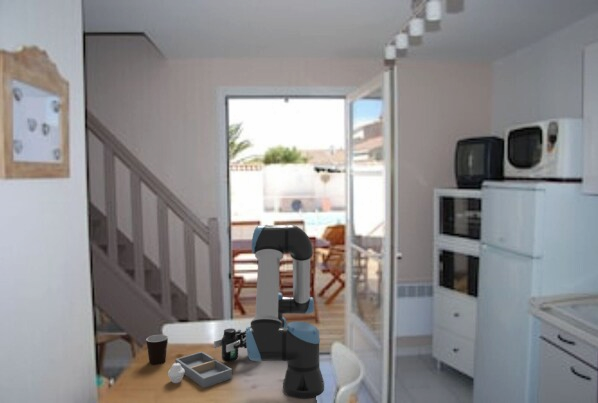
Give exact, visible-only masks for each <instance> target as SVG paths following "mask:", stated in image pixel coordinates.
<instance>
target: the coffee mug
mask: <svg viewBox="0 0 598 403" xmlns="http://www.w3.org/2000/svg"><path fill="white" fill-rule="evenodd" d="M168 339H169V337H168V335H167V334H153V335H150V336H148V337H147V338H146V339H145V340H146V348H147V355H148V361H149V364H150V365H152V366H158V365H162V364H164V363H165V362H166V360H167V349H168V343H169V342H168V341H169V340H168Z"/></svg>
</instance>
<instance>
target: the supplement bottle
mask: <svg viewBox="0 0 598 403" xmlns="http://www.w3.org/2000/svg"><path fill="white" fill-rule="evenodd" d="M236 331H237V329H235V328H225V329H224V330H223V335H224V337H223V336H222V346H221V360H222V361H224V362H227V363H229V362H231V363H232V362H235V361H237V360H238V359H239V348H237V349H235V350H232V351H230V352H226V345H228V344H231V343H234V342H236V341H239V340H238V337H237V336H236Z"/></svg>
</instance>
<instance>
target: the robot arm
mask: <svg viewBox="0 0 598 403" xmlns="http://www.w3.org/2000/svg"><path fill="white" fill-rule="evenodd" d="M313 248H314V247H313V244H312V241H311V239H310V237H309V235H308V234H307V233H306V232H305V231H304V230H303V229H302V228H300V227H298V226H296V225H292V224H288V225H287V224H286V225H284V224H283V225H281V224H279V225H278V224H277V225H275V224H274V225H268V224H265V225H257V226H256V227H255V228H254V230H253V233H252V240H251V252H252V254H254V257H255V258H256V259H257V261H258V262H257V263H258V264H257V278H256V279H257V280H256V293H255V294H256V295H255V296H256V298H255V314H254V318H253V319H252V320H251V321H250V326H247V327H246V328H245V330H244V331H242V330H241V329H238V330H236V336H237V337H238V341H236V342H234V343H231V344H228V345H226V352H230V351H232V350H235V349H237V348H238V349H239V348H241V349H242V348H244V349H246V352H247V356H248V359H249V360H251V361H253V362H254V361H255V362H260V363H261V362H287V367H286V370H285V375H284V378H283V380H282V391H283V392H284V394H286V395H288V397H292V398H296V399H310V398H315V397H316V398H317V397H318V396H320V395H322V393H324V391H325V380H324V378H323V374H322V371H321V368H320V367H321V366H320V343H321V339H320V330H319V329H318V327H317V326H315V325H314V324H311V323H309V322H306V321H291V322H289V323H288V322H287V319H286V318H285V317H284V316H283V314H284V315H285V314H286V315H290V314H291V315H294V314H295V315H297V314H298V315H306V314H307V315H308V314H313V313H314V310H315V309H314V307H315V305H314V304H315V302H314V297H312V296H311V259H312V257H313V254H314V253H313V252H314V251H313V250H314V249H313ZM284 254H290V257H291V259H292V292H293V293H292V295H293V296H283V293H282V292H280V261H282V260H283V259H284ZM223 337H224V334H223V336H222V338H223ZM222 338H219V339H216V340H214V341H213V348H214V349H217V348H220V347H222Z"/></svg>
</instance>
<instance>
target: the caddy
mask: <svg viewBox="0 0 598 403" xmlns="http://www.w3.org/2000/svg"><path fill="white" fill-rule="evenodd" d="M174 363H180V364H181V367H182V368H183V369H184V370H185V373H184V376H186V377H187V378H189V379H190V380H192V381H194V382H195V383H196V384H197V385H199V386H200V387H202V388H203V389H205V388H208V387H210V386H214V385H217V384H219V383H222V382H225V381H228V380H231V379H233V368H231V367H229V366H228V365H226V364H225V363H222V362H221V361H219V360H217V359H216V358H214V357H213V356H211V355H210V354H208V353H206V352H205V351H198V352H196V353H192V354H189V355H184V356H182V357H178V358H175V362H174Z"/></svg>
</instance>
